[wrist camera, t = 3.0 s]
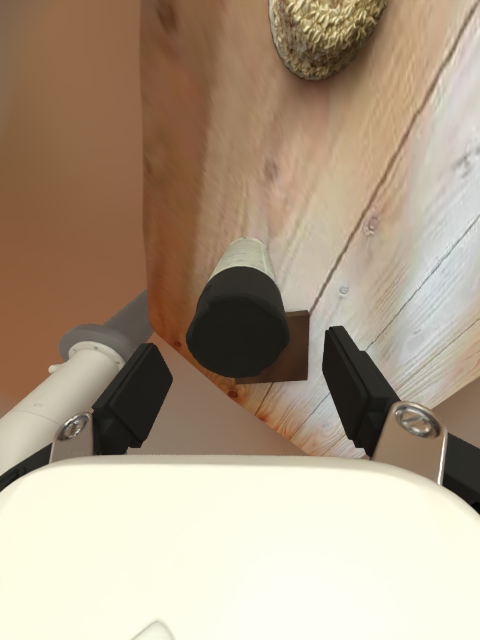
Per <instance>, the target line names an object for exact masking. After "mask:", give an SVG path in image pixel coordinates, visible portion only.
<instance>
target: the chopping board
mask: <svg viewBox="0 0 480 640" xmlns="http://www.w3.org/2000/svg"><path fill="white" fill-rule="evenodd" d="M285 315H286V319H287V322H288V326H289V332H290V342H289V345H288V346H287V347H285V348H284V349H283V351H282V352H281V353H280V356H279V357H278V359H277V360H276V361H275V362H274V363H273V364H272V365H271V366H270V367H267V368H266V369H264V370H263V371H261V374H260V375H258V376H255V377H247V378H235V380H236V384H252V383H268V382H285V381H302V380H307V378H308V347H309V313H308V310H305V311H295V312H286V313H285Z"/></svg>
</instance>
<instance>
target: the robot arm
mask: <svg viewBox="0 0 480 640" xmlns="http://www.w3.org/2000/svg"><path fill="white" fill-rule="evenodd" d="M322 371H323V375H324V377H325V380H326V383H327V385H328V388H329V391H330V393H331V396H332V398H333V401H334V404H335V406H336V409H337V412H338V414H339V417H340V419H341V422H342V425H343V427H344V430H345V433H346V435H347V437H348V439H349V440H353V442H354V445H355V447H356V448H364V450H365V452H366V454H367V455H368V456H369V457H370V458H369V460H365V459H357V458H344V457H319V456H262V455H261V456H260V455H253V456H251V455H127V449H128V447H130V448H140V447H141V445H142V443H143V441H145V440H146V439H147V437H148V435H149V432H150V430H151V428H152V426H153V423H154V421H155V419H156V417H157V415H158V413H159V410H160V408H161V406H162V404H163V401H164V399H165V397H166V395H167V393H168V390H169V388H170V386H171V384H172V381H173V377H172V375H171V373H170V371H169V369H168V367H167V365H166V363H165V361H164V359H163V357H162V355H161V353H160V351H159V350H158V348H157V346H156V345H154V344H153V343H143V344H141V345H140V346H139V347H138V348H137V350H136V351H135V352H134V353H133V355H132V356H131V357H130V359H129V360H128V361H127V362H126V363H125V361H124V360H123V358H122V357H121V356H120V355H119V354H118V353H117V352H116V351H115V350H113V349H112V348H110V347H108V346H106V345H104V344H101V343H98V342H93V341H82V342H78V343H76V344H75V345H74V346H72V347H71V349H70V350H69V360H68V361H67V362H66V363H63V364H58V365H52V366H50V367H49V372H50V373H53V374H52V375H51V376H50V377H48V378H47V379H46V380H45V381H44V382H43V383H41V384H40V385H39V386H38V387H37V388H36V389H35V390H33V391H32V392H31V393H30V394H29V395H28V396H27V397H25V398H24V399H23V400H22V401H21V402H20V403H18V404H17V405H16V406H15V407H14V408H13V409H12V410H11V411H9V412H8V413H7V414H6V415H5V416H3V417H2V418H1V419H0V640H480V449H479V448H477V447H475V446H473V445H471V444H469V443H467V442H465V441H463V440H462V439H459V438H458V437H456V436H454V435H452V434H450V433H448V432H447V428H446V426H445V424H444V422H443V421H442V420H441V419H440V418H439V417H438V416H437V415H436V414H435V413H434V412H432V411H431V410H430V409H428V408H426V407H424V406H422V405H420V404H417V403H414V402H409V401H401V400H400V399H399V397H398V396H397V394H396V393H395V392H394V390H393V389H392V387H391V386H390V385H389V383H388V382H387V380H386V379H385V378H384V376H383V375H382V373H381V372H380V371H379V369H378V368H377V366H376V365H375V364H374V362H373V361H372V359H371V358H370V357H369V355H368V354H367V353H366V352H365V351H360V350H359V349H358V348H357V346H356V345H355V343H354V342H353V340H352V339H351V337H350V336H349V334H348V333H347V331H346V330H345V328H344V327H343V326H333V327H330V328H329V330H326V331H325V341H324V352H323V363H322ZM110 382H111V383H110ZM107 386H108V387H107ZM103 391H104V392H103ZM100 395H101V396H100ZM99 396H100V397H99ZM96 400H97V401H96ZM92 405H93V406H92ZM91 407H92V408H93V409H94V412H93V413H92V414H91V413H90V412H88V410H89V409H90V408H91Z"/></svg>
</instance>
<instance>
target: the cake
mask: <svg viewBox="0 0 480 640" xmlns="http://www.w3.org/2000/svg"><path fill="white" fill-rule="evenodd" d="M268 1H269V18H270V22H271V32H272V36H273V41H274V43H276V45H275V46H276V48H277V50H278V52H279V56H280V57H281V58H282V60H283V61H284V65H285V66H286V67H287V68H289V69H290V71H291V72H292V73H295V74H296V75H298V76H299V78H304V79H306V80H307V81H310V80H312V79H313V80H315V81H318V80H321V79H323V78H324V79H327V78H328V77H330V76H331V75H335V74H336V73H338V71H339V70H341V69H343V68H345V67H346V66H347V65H348V63H349V62H351V61H352V60H353V59H354V58H355V57H356V56H357V54H358V53H359V51H360V50H361V49H362V48H363V47H364V45H365V43H366V41H367V40H368V38H369V37H370V36H371V35H372V33H373V31H374V29H375V27H376V25H377V21H378V20H379V19H380V16H381V15H382V12H383V10H384V9H385V8H386V6H387V0H268Z"/></svg>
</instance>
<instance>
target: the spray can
mask: <svg viewBox="0 0 480 640" xmlns="http://www.w3.org/2000/svg"><path fill="white" fill-rule="evenodd" d="M289 342H290V332H289V326H288V322H287V319H286V315H285V311H284V306H283V302H282V298H281V294H280V291H279V288H278V284H277V281H276V278H275V274H274V271H273V267H272V264H271V260H270V257H269V254H268V251H267V249H266V247H265V246H264V244H263V243H262V242H260V241H259V240H258V239H255V238H253V237H241V238H238V239H236V240H234V241H233V242H232V243H231V244H230V245H229V246H228V247H227V249H226V251H225V252H224V254H223V256H222V258H221V259H220V261H219V263H218V265H217V266H216V268H215V270H214V272H213V274H212V275H211V277H210V279H209V281H208V282H207V284H206V286H205V288H204V290H203V292H202V294H201V296H200V298H199V300H198V303H197V309H196V314H195V316H194V318H193V321H192V322H191V324H190V327H189V329H188V332H187V334H186V343H187V346H188V349H189V351H190V352H191V353H192V355H193V357H194V358H195V359H196V360H197V361H198V362H199V364H201V365H202V366H203V367H205V368H206V369H208V370H210V371H212V372H214V373H216V374H219V375H222V376H225V377H230V378H247V377H255V376H258V375H260V374H261V371H263V370H264V369H266V368H267V367H270V366H271V365H272V364H273V363H274V362H275V361H276V360H277V359H278V357H279V356H280V353H281V352H282V351H283V349H284V348H285V347H287V346H288V345H289Z"/></svg>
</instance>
